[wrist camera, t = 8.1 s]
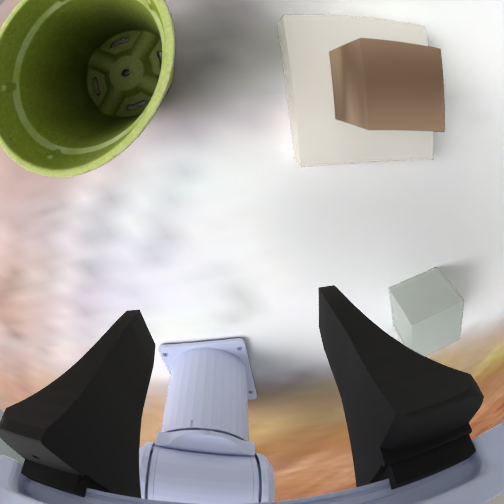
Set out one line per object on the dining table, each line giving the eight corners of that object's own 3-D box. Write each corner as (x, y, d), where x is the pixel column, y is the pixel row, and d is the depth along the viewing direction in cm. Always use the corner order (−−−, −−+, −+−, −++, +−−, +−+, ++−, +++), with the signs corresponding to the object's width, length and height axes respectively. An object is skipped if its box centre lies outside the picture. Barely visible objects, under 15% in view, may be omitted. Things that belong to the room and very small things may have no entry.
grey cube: (436, 305, 26) (459, 338, 22) (393, 325, 27) (412, 362, 23) (435, 266, 24) (464, 299, 20) (388, 287, 25) (411, 325, 20)
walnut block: (397, 118, 15) (444, 132, 11) (335, 119, 16) (368, 130, 11) (393, 55, 14) (440, 48, 9) (328, 51, 14) (360, 37, 9)
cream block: (411, 149, 19) (433, 159, 17) (292, 156, 20) (301, 167, 17) (403, 31, 15) (425, 26, 12) (276, 26, 15) (282, 15, 13)
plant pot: (181, -13, 13) (143, -73, 6) (220, 114, 18) (205, 128, 10) (56, 46, 14) (-28, 40, 6) (92, 161, 18) (18, 207, 11)
